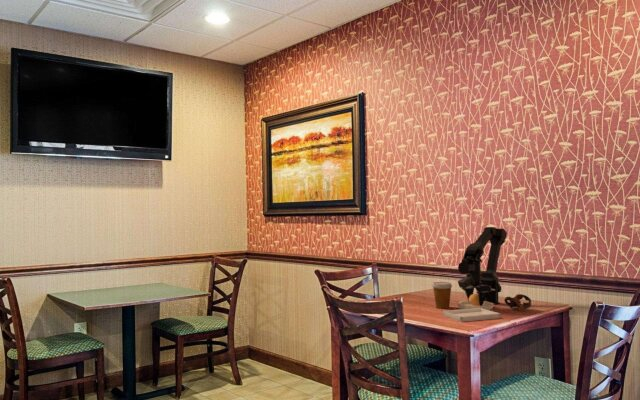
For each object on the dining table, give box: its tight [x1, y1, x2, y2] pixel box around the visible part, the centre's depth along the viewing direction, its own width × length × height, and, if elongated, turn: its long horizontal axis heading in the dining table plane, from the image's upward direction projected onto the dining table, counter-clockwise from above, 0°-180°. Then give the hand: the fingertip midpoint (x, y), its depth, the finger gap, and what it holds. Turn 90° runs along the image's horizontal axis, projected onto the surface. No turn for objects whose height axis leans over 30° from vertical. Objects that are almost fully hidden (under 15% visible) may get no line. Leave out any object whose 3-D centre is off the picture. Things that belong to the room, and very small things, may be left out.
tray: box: [442, 308, 502, 323], centre depth 243 cm, size 20×15×2 cm
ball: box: [469, 293, 480, 306], centre depth 265 cm, size 6×6×6 cm
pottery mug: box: [503, 293, 532, 312], centre depth 258 cm, size 12×10×8 cm
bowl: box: [456, 300, 495, 311], centre depth 265 cm, size 16×16×2 cm
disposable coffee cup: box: [432, 281, 453, 309], centre depth 267 cm, size 10×10×12 cm
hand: (475, 304), depth 265 cm, fingers open, 9 cm apart
